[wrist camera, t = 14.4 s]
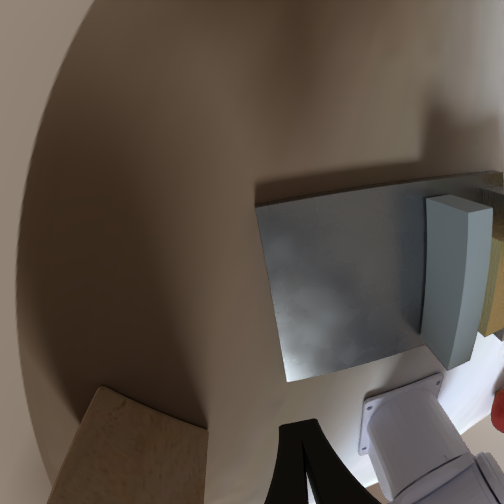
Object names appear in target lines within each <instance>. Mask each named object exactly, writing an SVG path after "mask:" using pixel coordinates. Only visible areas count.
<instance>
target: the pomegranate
mask: <svg viewBox="0 0 504 504" xmlns="http://www.w3.org/2000/svg"><path fill="white" fill-rule="evenodd" d="M491 421H492V423H493V426H494V427H495V428H496V429H497V430H499V431H500V432H502V433H504V390H499V391H498V392H497V393H496V394H495V397H494V401H493V405H492V409H491Z"/></svg>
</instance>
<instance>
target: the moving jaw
mask: <svg viewBox="0 0 504 504" xmlns="http://www.w3.org/2000/svg"><path fill="white" fill-rule="evenodd" d="M426 208H427V265H426V285H425V298H424V309H423V319H422V328H421V335H420V338H421V339H422V340H423V342H424V343H425V344H426V345H427V346H428V348H429V349H430V350H431V351H432V352H433V354H434V355H435V356H436V357H437V359H438V360H439V361H440V362H441V363H442V365H443V366H444V367H445V368H446V370H447V371H448V370H450V369H452V368H454V367H457V366H459V365H461V364H463V363H465V362H467V361H469V360H470V358H471V355H472V351H473V347H474V344H475V340H476V336H477V331H478V327H479V323H480V318H481V313H482V308H483V303H484V297H485V291H486V285H487V278H488V270H489V262H490V252H491V240H492V221H493V208H492V207H489V206H486V205H483V204H479V203H476V202H473V201H470V200H467V199H464V198H460V197H457V196H454V195H444V196H437V197H431V198H426Z"/></svg>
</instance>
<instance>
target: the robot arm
mask: <svg viewBox="0 0 504 504" xmlns="http://www.w3.org/2000/svg"><path fill="white" fill-rule="evenodd" d="M442 380H443V374H442V373H438V374H435V375H433V376H430V377H428V378H425V379H423V380H420V381H418V382H415V383H412V384H410V385H407V386H404V387H401V388H398V389H396V390H393V391H390V392H387V393H384V394H381V395H377V396H374V397H371V398H368V399H366V400H365V401H364V403H363V414H362V424H361V433H360V441H359V449H358V453H359V455H361V456H362V455H365V454H369V457H370V459H371V462H372V465H373V468H374V470H375V473H376V476H377V479H378V481H379V484H380V487H381V490H382V492H383V494H384V496H385V497H386V498H387V499H388V500H389V501H391V502H389V503H388V504H504V473H503V471H502V470H501V468H500V466H499V465H498V464H497V462H496V460H495V459H494V458H493V456H492V455H491V453H483V452H480V453H479V454H478V455H476V457H475V456H474V455H473V454H471V452H470V451H469V449H468V448H467V446H466V444H465V442H464V441H463V439H462V438H461V436H460V434H459V433H458V431H457V430H456V428H455V426H454V425H453V423H452V422H451V420H450V419H449V417H448V416H447V414H446V412H445V411H444V409H443V408H442V406H441V405H440V403H439V402H438V400H437V397H438V394H439V391H440V387H441V384H442ZM306 472H307V476H308V479H309V482H310V486H311V489H312V492H313V495H314V499H315V502H316V504H381V503H380V502H379V501H378V500H377V499H376V498H374V497H373V496H372V495H371V494H370V493H369V492H368V491H367V490H366V489H365V488H364V487H363V486H362V485H361V484H360V483H359V482H358V480H357V479H356V478H355V477H354V476H353V475H352V474H351V472H350V471H349V470H348V469H347V467H346V466H345V465H344V464H343V462H342V461H341V460H340V458H339V457H338V455H337V454H336V453H335V451H334V450H333V448H332V447H331V445H330V444H329V442H328V440H327V439H326V437H325V435H324V433H323V431H322V429H321V427H320V425H319V423H318V420H317V419H315V418H314V419H309V420H304V421H299V422H294V423H289V424H284V425H281V426H280V427H279V445H278V453H277V459H276V464H275V469H274V473H273V478H272V481H271V484H270V488H269V491H268V494H267V497H266V500H265V503H264V504H309V502H308V489H307V476H306Z"/></svg>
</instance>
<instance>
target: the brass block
mask: <svg viewBox="0 0 504 504" xmlns="http://www.w3.org/2000/svg"><path fill="white" fill-rule="evenodd" d="M502 328H504V219H503V218H500V217H497V216H495V215H493V221H492V240H491V252H490V262H489V270H488V278H487V285H486V291H485V297H484V303H483V308H482V313H481V318H480V323H479V327H478V332H480V333H481V334H482V335H483V336H484V337H487V336H489V335H491V334H492V333H494V332H496V331H498V330H500V329H502Z"/></svg>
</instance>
